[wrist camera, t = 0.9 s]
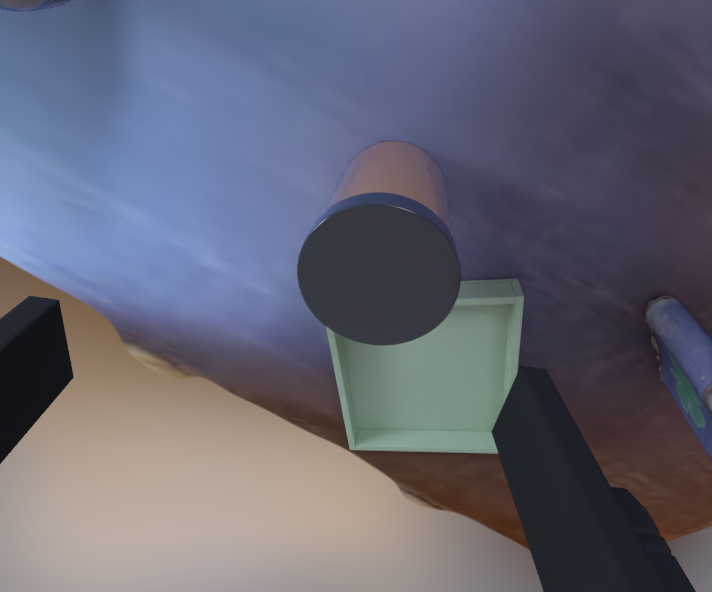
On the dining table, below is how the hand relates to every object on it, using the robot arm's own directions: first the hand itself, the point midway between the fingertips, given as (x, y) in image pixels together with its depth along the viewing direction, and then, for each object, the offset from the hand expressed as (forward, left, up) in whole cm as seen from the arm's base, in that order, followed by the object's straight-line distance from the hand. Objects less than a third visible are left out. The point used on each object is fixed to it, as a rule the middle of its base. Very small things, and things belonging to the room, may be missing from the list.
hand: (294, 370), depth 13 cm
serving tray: (-3, +17, -20) cm, 26 cm away
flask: (-22, +15, -20) cm, 33 cm away
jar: (-2, +2, -20) cm, 20 cm away
